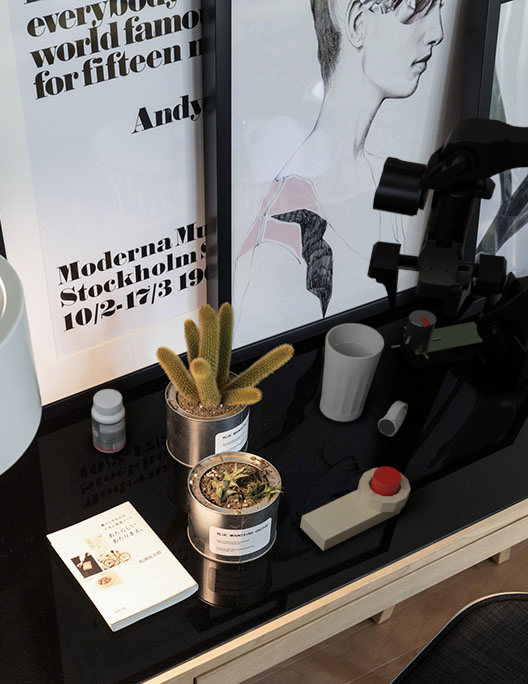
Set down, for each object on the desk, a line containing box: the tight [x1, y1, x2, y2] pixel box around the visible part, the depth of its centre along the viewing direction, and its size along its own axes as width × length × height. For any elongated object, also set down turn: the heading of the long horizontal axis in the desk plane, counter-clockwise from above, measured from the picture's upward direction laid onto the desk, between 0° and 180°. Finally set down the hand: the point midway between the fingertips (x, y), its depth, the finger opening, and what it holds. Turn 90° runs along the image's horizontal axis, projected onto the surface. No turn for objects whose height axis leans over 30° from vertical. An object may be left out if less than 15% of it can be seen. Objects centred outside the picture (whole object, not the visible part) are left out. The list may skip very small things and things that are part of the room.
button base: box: [299, 467, 411, 552], centre depth 125 cm, size 15×6×4 cm, turn 121°
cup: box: [319, 322, 385, 422], centre depth 136 cm, size 8×8×12 cm
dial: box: [403, 309, 437, 351], centre depth 143 cm, size 4×4×5 cm
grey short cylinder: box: [377, 400, 409, 438], centre depth 135 cm, size 3×5×5 cm, turn 142°
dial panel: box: [390, 321, 483, 371], centre depth 147 cm, size 15×8×3 cm, turn 105°
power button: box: [371, 466, 402, 496], centre depth 125 cm, size 4×4×2 cm
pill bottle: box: [90, 388, 127, 454], centre depth 134 cm, size 5×5×8 cm
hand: (423, 317), depth 141 cm, fingers open, 9 cm apart
